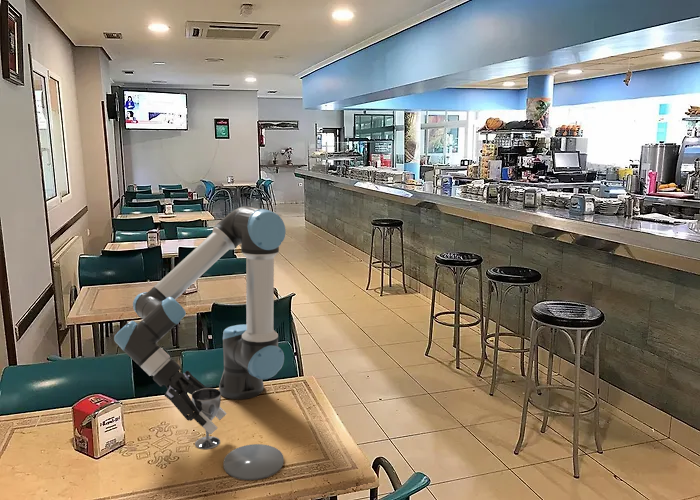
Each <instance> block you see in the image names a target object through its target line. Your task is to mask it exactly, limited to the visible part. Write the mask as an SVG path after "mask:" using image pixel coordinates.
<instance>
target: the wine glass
mask: <svg viewBox="0 0 700 500" xmlns="http://www.w3.org/2000/svg"><path fill="white" fill-rule="evenodd" d="M221 397H222V395H221V393H220V391H219V389H217V388H213V387H207V388H204V389H199V390H197V391H195V392H193V393H192V395H191V400H192V402H193V403H194V405H195V407H196V408H197V410H198V411H199V413H200V412H202V413H204V414H205V415H206V416H207V417H208V418H209V419H210V420H211V421H212V422H213V419H215V417H216V415H217V414H218V412H219V408H220V407H221V401H222V399H221ZM220 444H221V439H220V438H218V437H216V436H210V434H209V433H208V432H207V431H206V430H205V436H202V437H201V438H199V439H197V440H196V441H195V443H194V446H195V448H197V449H200V450H210V449H215V448H216V447H218V446H219V445H220Z"/></svg>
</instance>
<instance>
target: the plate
mask: <svg viewBox="0 0 700 500" xmlns="http://www.w3.org/2000/svg"><path fill="white" fill-rule="evenodd" d="M284 460H285V458H284V454H283V453H282V451H281V450H280V449H279V448H277V447H275V446H271V445H269V444H261V443H260V444H259V443H254V444H253V443H252V444H247V445H243V446H239V447H237V448H234V449H233V450H231V451H230V452H228V453H227V454H226V455H225V456H224V458H223V470H224V471H225V473H226V474H227V475H228V476H230V477H232V478H234V479H237V480H242V481H256V480H257V481H258V480H263V479H266V478H270V477H271V476H274V475H275V474H277V473H278V472H279V471H280V470H281V469H282V468H283V466H284Z"/></svg>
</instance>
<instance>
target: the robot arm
mask: <svg viewBox="0 0 700 500" xmlns="http://www.w3.org/2000/svg"><path fill="white" fill-rule="evenodd" d="M286 230H287V229H286V225H285V223H284V220H283V219H282V217H281V216H280V215H278V213H276V212H273V211H272V210H270V209H266V208H260V207H256V206H251V205H243V206H239V207H238V208H235V209H234V210H233V211H230V212H229V213H228V214H226V216H224V218H222V219H221V220H220V221H219V222H218V223H217V224H215V226H213V227H212V233H211V234H209V235H208V236H207V237H206V238H205V239H204V240H203V241H201V242H200V244H198V245H197V246H196V247H195V248H194V249H193V250H192V251H191V252H190V253H189V254H188V255H187V256H185V258H183V259H182V260H181V261H180V262H179V263H177V265H176V266H174V268H173V269H171V270H170V272H168V273H167V274H166V275H165V276H164V277H163V278H161V279H160V281H158V282H157V284H155V285H154V286H153V287H152V288H151V289H149V291H148V292H147V291H144V292H141V293H138V294H137V295H136V296H135V297H134V299H133V301H132V308H133V310H134V313H136V314H137V317H139V318H141V319H142V320H140V321H139V322H136V321H134V320H131V321H128V323H126V324H125V325H124V326H122V328H120V329H119V330H118V331H117V333H116V334H115V335H114V337H113V340H114V342H115V343H116V344H117V345H118V347H119V348H120V349H121V350H122V351H123V352H124V353H125V354H126V355H127V356H128V357H130V359H131V360H133V362H135V363H136V365H138V367H140V368H141V369H142V370H143V371H144V372H145V373H146V374H147V375H148V376H149V377H150V376H151V377H152V380H153V381H154V382H155V383H156V384H157V385H158V386H159V387H164V386H165V387H166V389H167V391H165V393H164V397H165V398H167V399H168V400H169V401H170V402H171V403H172V405H174V407H175V408H176V409H177V410H178V412H180V414H181V415H182V416H183V417H184V419H185V420H187V422H188V421H190V422H192V421H193V420H194V421H195V422H196V423H197V424H199V426H200V427H202V428H203V429H204V430H205V432H206V431H207V432H208V433H209V436H210V435H212V434H213V433H215V431H216V430H217V429H218V428H219V427H218V426H217V425H216V424H215V423H214V422H213V420H212V421H211V420H210V419H209V418H208V417H207V416H206V415H205V414H204V413H202V412H200V413H199V411H198V410H197V408H196V407H195V405H194V403H193V402H192V398H191V397H190V395H191V396H192V393H193V392H195V391H197V390H199V389H204V388H208V387H207V386H205V385H204V384H203V383H202V382H201V381H200V380H198V379H197V378H196V377H195V376H194V375H193V374H192V373H191V371H189V370H185V372H184V373H183V372H181V371H180V370H181V366H180V364H178V362H176V360H174V359H173V358H172V359H171V356H170V354H168V353H167V352H166V351H165V350H164V349H163V348H162V347H161V346H160V345H159V344H158V342H159V341H160V340H161V339H162V338H164V336H166V335H167V334H168V333H169V332H170V331H171V330H173V328H175V326H177V325H178V324H179V323H180V322H181V321H182V320H183V318H184V317H185V316H186V315H187V312H186V309H184V307H183V306H182V305H181V304H180V303H179V302H178V301H177V299H178V298H179V297H180V296H181V295H182V294H183V293H185V292H186V291H187V289H189V288H190V287H191V286H193V284H194V283H195V282H196V281H197V280H198V279H199V278H200V277H202V276H203V275H204V273H206V272H207V271H208V270H209V269H210V268H212V266H213V265H214V264H215V263H216V262H218V260H220V258H221V257H223V256H224V255H225V254H226V253H227V252H228V251H229V250H235V249H236V248H237V247H238V246H239V245H241V246H240V247H241V249H240V251H241V254H243V256H244V257H245V258H246V259H245V260H246V262H245V264H246V266H245V267H246V268H245V270H246V273H245V274H246V276H245V278H246V279H245V282H246V284H245V285H246V286H245V287H246V289H245V290H246V294H245V295H246V296H245V297H246V301H245V302H246V305H245V308H246V318H245V319H246V324H243V323H242V324H236V325H231V326H227V327H226V328H225V329H224V330H223V332H222V333H223V334H222V350H223V351H222V352H223V353H222V354H223V355H222V356H223V372H222V375H221V378H220V382H219V384H218V385H219V386H218V390H219V391H220V393H221V397H224V398H227V399H231V400H246V399H252V398H255V397H257V396H259V395H261V394H262V393H263V391H264V381H263V380H268V379H271V378H272V377H275V376H276V375H277V374H278V372H279V371H281V369H282V367H283V366H284V362H285V355H284V354H285V353H284V351H283V349H281V347H279V334H278V333H277V331H276V330H274V305H275V304H274V303H275V301H274V296H275V295H274V293H275V291H274V290H275V289H274V287H275V286H274V285H275V284H274V283H275V282H274V281H275V279H274V277H275V276H274V275H275V273H274V272H275V268H274V267H275V257H276V256H277V255H278V254H279V253H280V246H281V245H282V243H283V242H284V240H285V238H286ZM227 414H228V413H227V412H226V411H225V410H224V409H223V408H222V407H221V406H220V408H219V412H218V414H217V415H216V416H215V417H216V418H217V419H218V420H219V421H220V420H222V419H223V418H224V417H225V416H226V415H227Z"/></svg>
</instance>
